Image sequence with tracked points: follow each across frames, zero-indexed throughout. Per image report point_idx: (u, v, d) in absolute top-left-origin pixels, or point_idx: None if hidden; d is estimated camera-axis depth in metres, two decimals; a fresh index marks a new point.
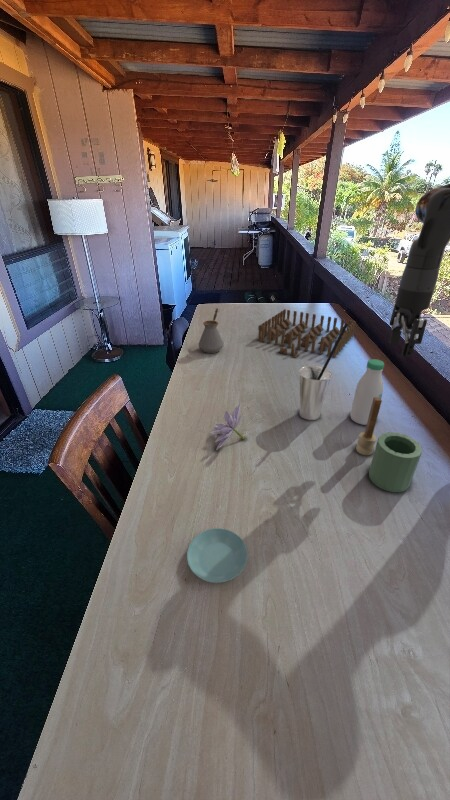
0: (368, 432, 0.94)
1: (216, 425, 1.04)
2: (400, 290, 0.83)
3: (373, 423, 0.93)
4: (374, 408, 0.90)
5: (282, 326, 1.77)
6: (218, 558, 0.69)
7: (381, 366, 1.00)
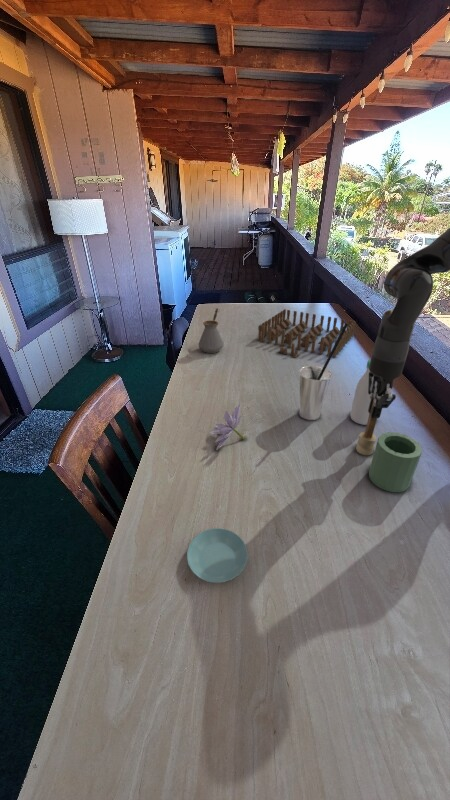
0: (368, 432, 0.94)
1: (216, 425, 1.04)
2: (373, 358, 0.84)
3: (373, 423, 0.93)
4: None
5: (282, 326, 1.77)
6: (218, 558, 0.69)
7: None
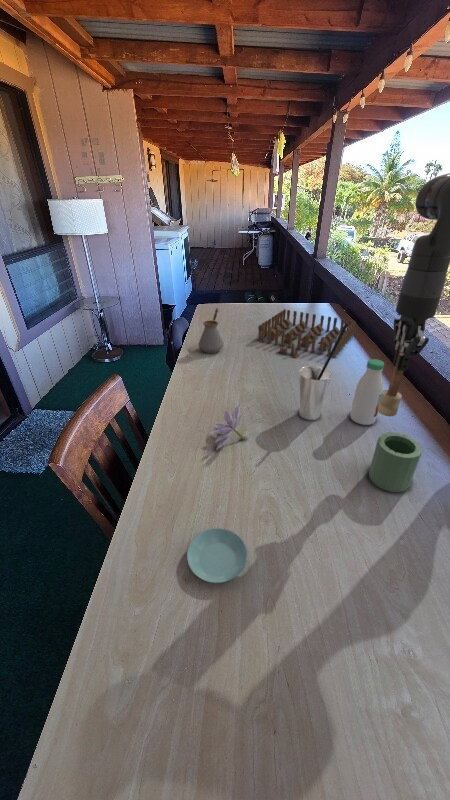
0: (392, 389, 0.82)
1: (216, 425, 1.04)
2: (401, 295, 0.72)
3: (399, 377, 0.81)
4: None
5: (282, 326, 1.77)
6: (218, 558, 0.69)
7: (381, 366, 1.00)
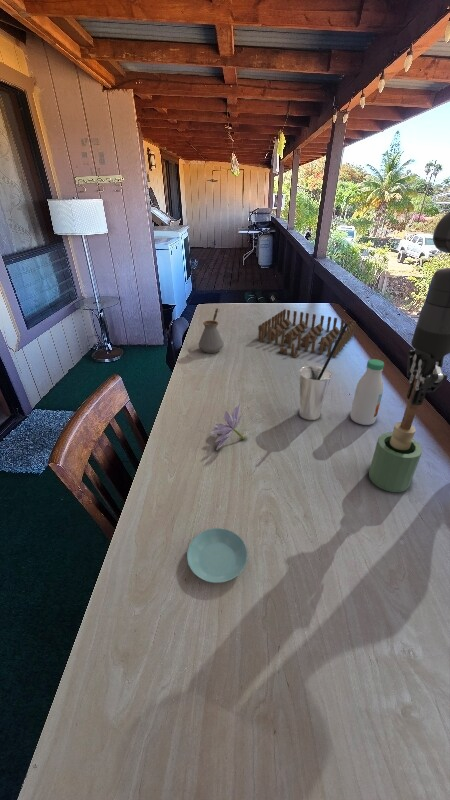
0: (406, 422, 0.79)
1: (216, 425, 1.04)
2: (418, 330, 0.68)
3: (413, 411, 0.77)
4: None
5: (282, 326, 1.77)
6: (218, 558, 0.69)
7: (381, 366, 1.00)
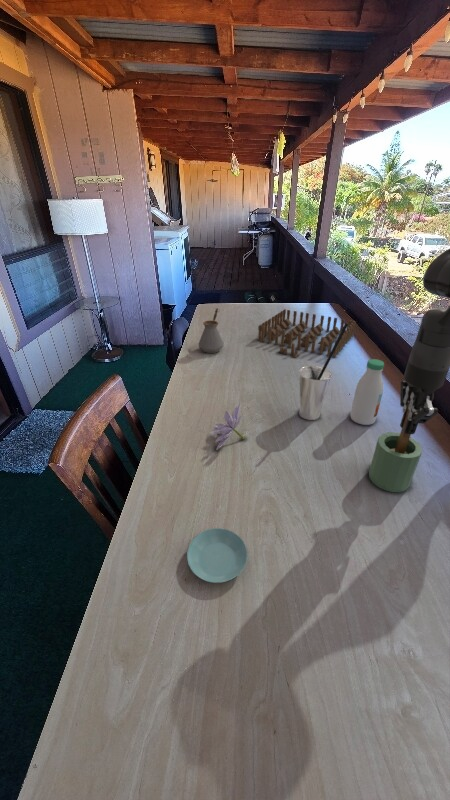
0: (400, 449, 0.82)
1: (216, 425, 1.04)
2: (410, 365, 0.72)
3: (406, 439, 0.81)
4: None
5: (282, 326, 1.77)
6: (218, 558, 0.69)
7: (381, 366, 1.00)
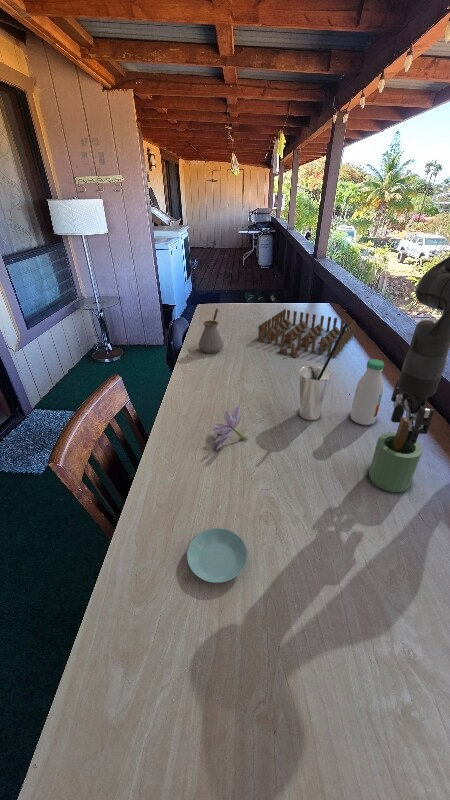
0: None
1: (216, 425, 1.04)
2: (403, 374, 0.74)
3: (400, 445, 0.83)
4: (402, 429, 0.81)
5: (282, 326, 1.77)
6: (218, 558, 0.69)
7: (381, 366, 1.00)
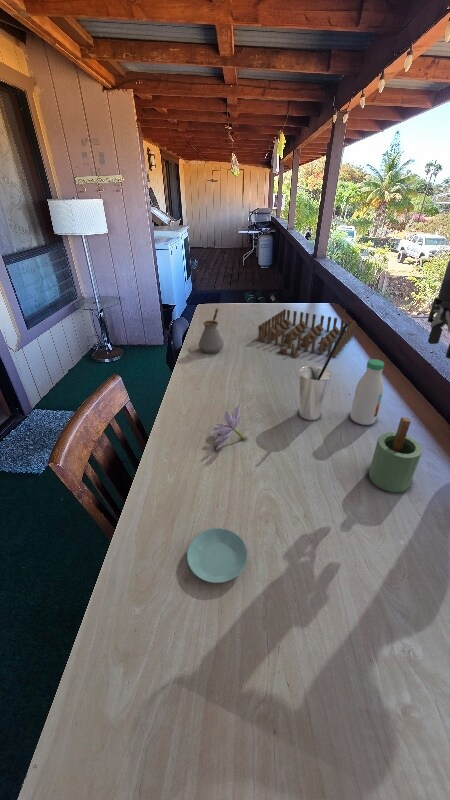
0: None
1: (216, 425, 1.04)
2: (445, 282, 0.72)
3: (400, 445, 0.83)
4: (402, 429, 0.81)
5: (282, 326, 1.77)
6: (218, 558, 0.69)
7: (381, 366, 1.00)
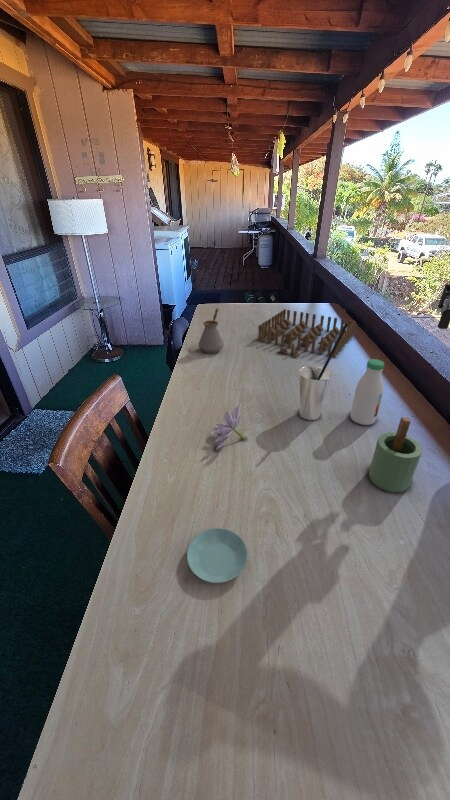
0: None
1: (216, 425, 1.04)
2: None
3: (400, 445, 0.83)
4: (402, 429, 0.81)
5: (282, 326, 1.77)
6: (218, 558, 0.69)
7: (381, 366, 1.00)
